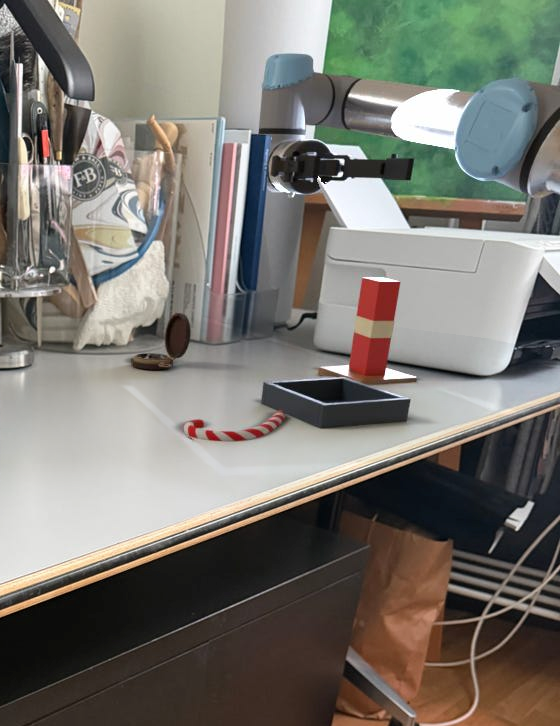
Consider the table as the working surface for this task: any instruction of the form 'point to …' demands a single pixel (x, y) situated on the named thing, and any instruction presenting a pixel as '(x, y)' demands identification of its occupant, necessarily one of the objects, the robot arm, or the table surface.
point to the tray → (335, 402)
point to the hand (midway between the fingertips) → (363, 168)
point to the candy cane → (194, 431)
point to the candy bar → (374, 325)
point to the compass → (167, 345)
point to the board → (344, 371)
